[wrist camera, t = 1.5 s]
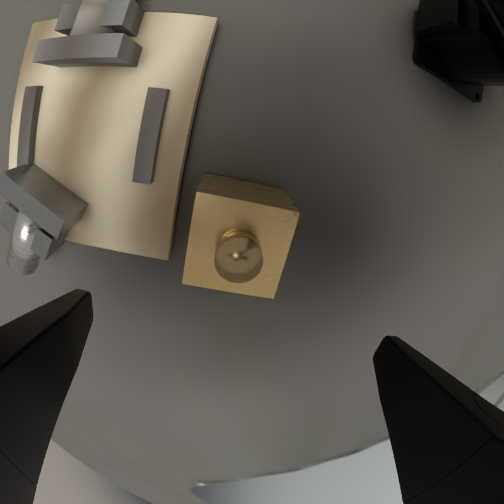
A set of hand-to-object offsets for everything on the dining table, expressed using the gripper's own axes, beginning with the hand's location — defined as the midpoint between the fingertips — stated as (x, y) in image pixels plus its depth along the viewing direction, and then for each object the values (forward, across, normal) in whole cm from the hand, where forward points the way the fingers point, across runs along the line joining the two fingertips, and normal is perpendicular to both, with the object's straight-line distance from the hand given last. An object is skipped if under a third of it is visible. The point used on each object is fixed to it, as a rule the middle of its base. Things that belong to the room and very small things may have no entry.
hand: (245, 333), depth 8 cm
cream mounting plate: (+10, +10, -4) cm, 14 cm away
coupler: (+10, 0, 0) cm, 10 cm away
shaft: (+9, +12, +2) cm, 15 cm away
